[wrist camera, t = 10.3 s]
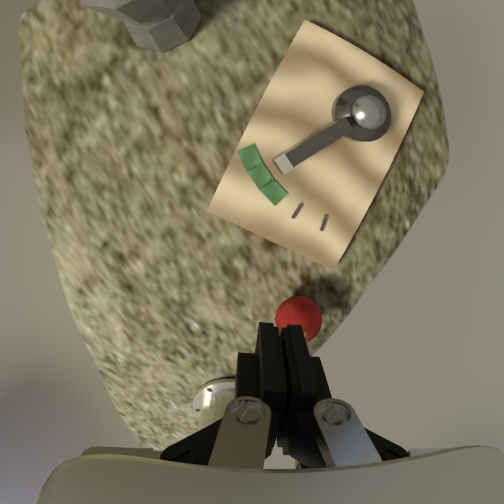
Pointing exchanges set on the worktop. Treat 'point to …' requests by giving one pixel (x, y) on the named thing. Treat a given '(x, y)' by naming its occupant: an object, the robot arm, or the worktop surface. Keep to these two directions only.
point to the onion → (300, 315)
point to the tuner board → (320, 164)
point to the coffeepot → (153, 20)
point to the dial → (343, 125)
